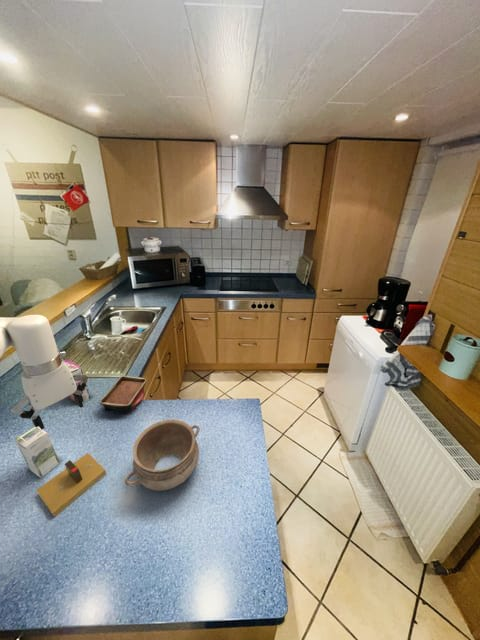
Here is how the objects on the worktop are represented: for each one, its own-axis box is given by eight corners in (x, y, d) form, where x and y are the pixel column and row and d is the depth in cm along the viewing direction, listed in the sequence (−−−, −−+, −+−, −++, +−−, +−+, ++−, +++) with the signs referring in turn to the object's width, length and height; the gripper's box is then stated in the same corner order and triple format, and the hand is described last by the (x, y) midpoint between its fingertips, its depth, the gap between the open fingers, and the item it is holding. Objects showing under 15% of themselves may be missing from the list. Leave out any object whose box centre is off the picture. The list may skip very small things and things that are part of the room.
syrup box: (50, 456, 81) (35, 424, 75) (61, 464, 79) (47, 431, 73) (30, 472, 77) (13, 438, 71) (42, 480, 74) (25, 447, 68)
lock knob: (68, 474, 73) (64, 463, 71) (74, 470, 74) (69, 459, 72) (77, 483, 71) (72, 472, 69) (82, 479, 72) (78, 468, 70)
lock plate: (55, 519, 65) (52, 512, 64) (39, 496, 70) (35, 489, 69) (107, 476, 76) (105, 469, 75) (89, 459, 81) (87, 452, 80)
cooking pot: (149, 529, 64) (142, 500, 59) (115, 480, 75) (106, 452, 70) (219, 460, 81) (218, 433, 76) (182, 429, 92) (179, 403, 87)
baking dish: (153, 396, 111) (150, 375, 108) (129, 422, 94) (124, 399, 91) (123, 394, 113) (120, 374, 110) (95, 419, 96) (90, 396, 94)
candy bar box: (91, 399, 105) (82, 367, 98) (79, 407, 101) (68, 374, 95) (78, 389, 111) (68, 358, 104) (66, 396, 107) (54, 364, 100)
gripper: (73, 345, 71) (86, 392, 78) (-8, 375, 58) (17, 429, 65) (86, 353, 67) (99, 403, 74) (3, 388, 54) (28, 444, 61)
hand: (61, 415), depth 69 cm, fingers open, 9 cm apart
